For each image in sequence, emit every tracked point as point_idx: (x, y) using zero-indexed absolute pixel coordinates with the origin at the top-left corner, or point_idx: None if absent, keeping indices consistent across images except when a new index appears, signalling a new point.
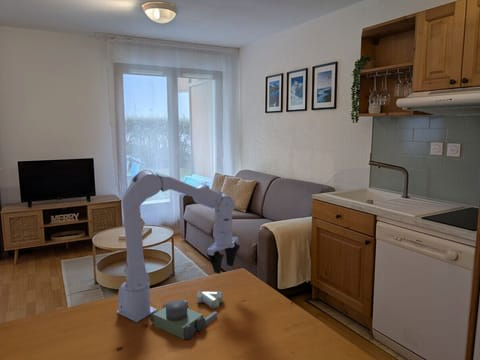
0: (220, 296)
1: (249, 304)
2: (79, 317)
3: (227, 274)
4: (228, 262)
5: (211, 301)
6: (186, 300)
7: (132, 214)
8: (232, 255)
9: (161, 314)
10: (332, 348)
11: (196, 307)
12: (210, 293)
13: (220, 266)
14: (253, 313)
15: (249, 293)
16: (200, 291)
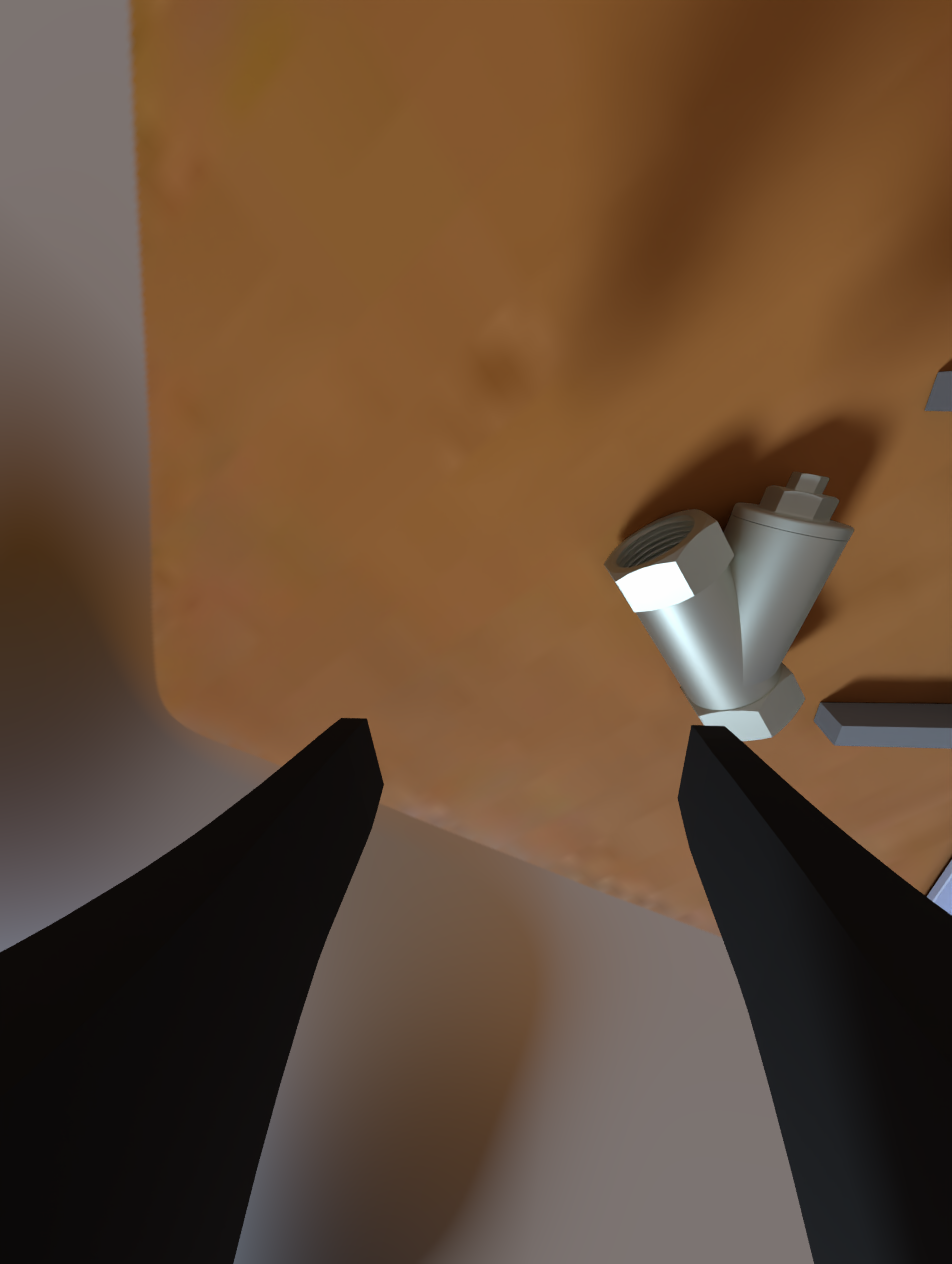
0: (712, 533)
1: (530, 255)
2: None
3: (281, 743)
4: (363, 805)
5: (843, 546)
6: (837, 736)
7: None
8: (251, 894)
9: None
10: None
11: (825, 637)
12: (732, 637)
13: (794, 824)
14: (690, 15)
15: (359, 425)
16: (763, 720)
